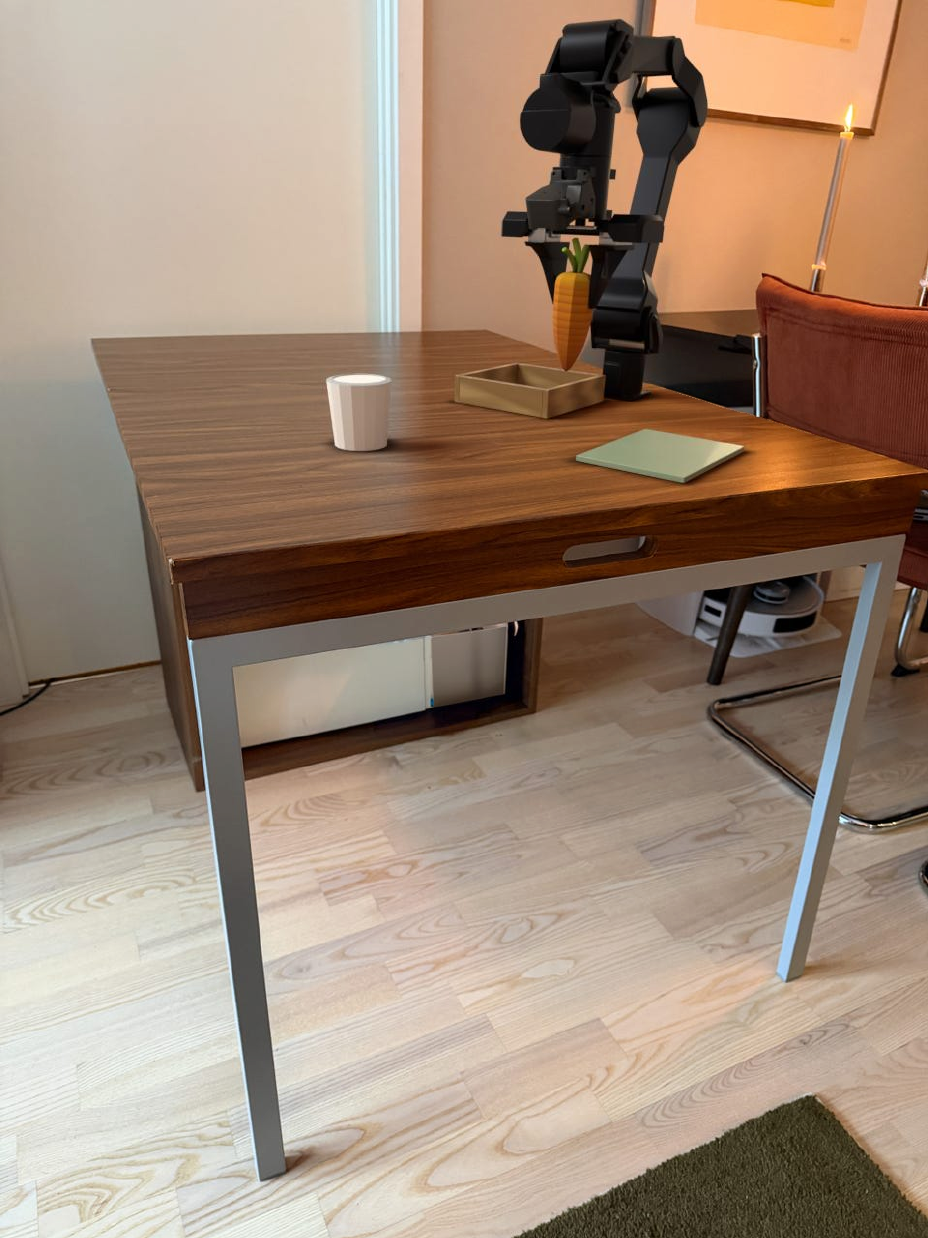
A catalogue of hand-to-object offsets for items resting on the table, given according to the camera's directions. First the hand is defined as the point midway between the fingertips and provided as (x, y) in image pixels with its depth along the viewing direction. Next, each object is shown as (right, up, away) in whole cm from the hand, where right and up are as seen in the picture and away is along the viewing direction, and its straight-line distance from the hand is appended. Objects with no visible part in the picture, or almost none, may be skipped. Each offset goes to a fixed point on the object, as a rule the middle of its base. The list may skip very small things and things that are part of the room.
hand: (573, 306), depth 100 cm
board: (+8, -20, -10) cm, 24 cm away
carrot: (-1, -7, +4) cm, 8 cm away
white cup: (-24, -19, -9) cm, 32 cm away
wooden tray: (-4, -8, +14) cm, 16 cm away
